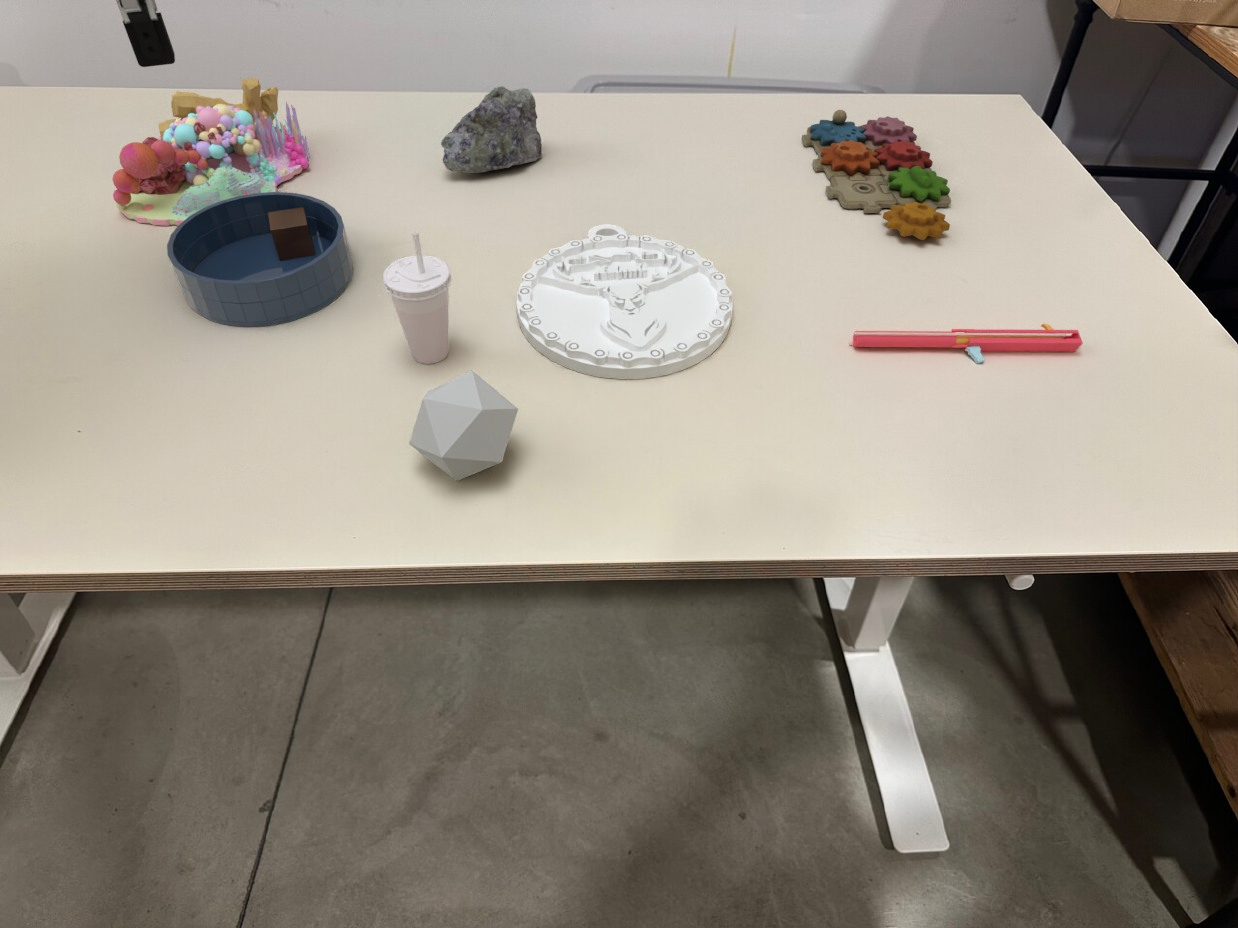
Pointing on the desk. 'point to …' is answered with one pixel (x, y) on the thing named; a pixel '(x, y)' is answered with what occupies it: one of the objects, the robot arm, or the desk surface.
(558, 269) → the medallion
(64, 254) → the desk surface
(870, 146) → the gear puzzle
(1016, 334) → the red long bar
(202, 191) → the pastel sphere sculpture
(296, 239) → the block
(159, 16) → the robot arm
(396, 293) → the smoothie
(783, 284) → the desk surface
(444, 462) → the die
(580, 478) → the desk surface
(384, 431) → the desk surface
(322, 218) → the bowl
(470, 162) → the mineral rock
